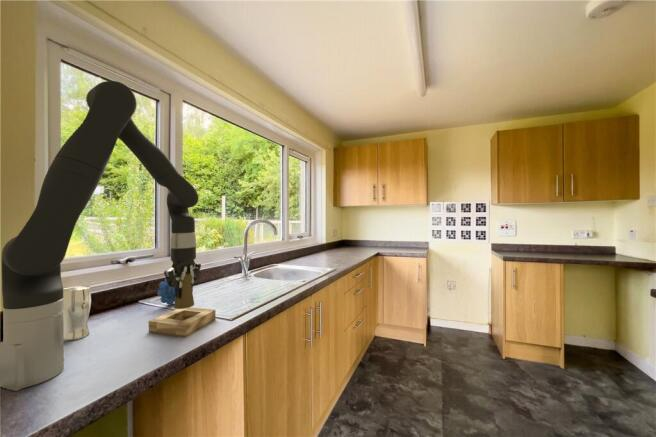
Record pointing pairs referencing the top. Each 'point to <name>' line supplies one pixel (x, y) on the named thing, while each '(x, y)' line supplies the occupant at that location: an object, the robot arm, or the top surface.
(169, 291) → the blue lobed wheel
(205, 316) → the holder block
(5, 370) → the robot arm
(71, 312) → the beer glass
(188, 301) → the cork
